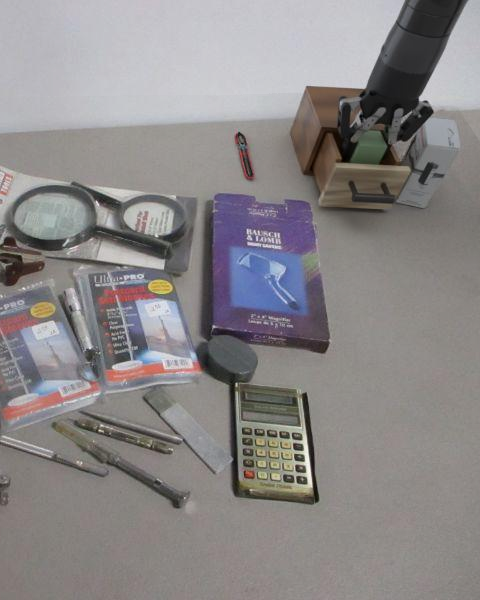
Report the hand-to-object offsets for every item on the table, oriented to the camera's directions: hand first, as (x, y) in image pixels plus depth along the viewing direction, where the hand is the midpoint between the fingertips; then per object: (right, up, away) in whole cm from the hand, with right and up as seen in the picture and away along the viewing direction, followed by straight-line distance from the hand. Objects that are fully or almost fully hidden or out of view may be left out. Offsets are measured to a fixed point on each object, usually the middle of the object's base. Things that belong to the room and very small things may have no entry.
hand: (360, 158), depth 95 cm
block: (0, 0, 0) cm, 0 cm away
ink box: (+11, -4, +6) cm, 13 cm away
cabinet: (0, +4, +12) cm, 12 cm away
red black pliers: (-16, +3, +11) cm, 19 cm away
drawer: (0, -5, +3) cm, 6 cm away
